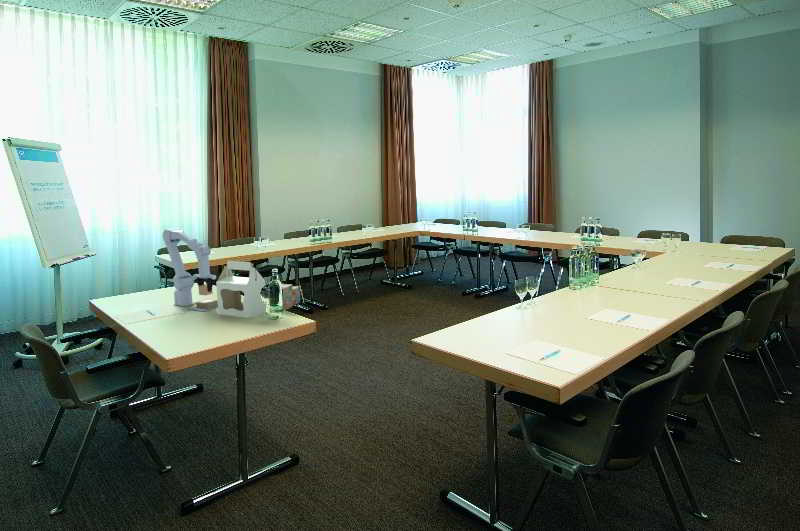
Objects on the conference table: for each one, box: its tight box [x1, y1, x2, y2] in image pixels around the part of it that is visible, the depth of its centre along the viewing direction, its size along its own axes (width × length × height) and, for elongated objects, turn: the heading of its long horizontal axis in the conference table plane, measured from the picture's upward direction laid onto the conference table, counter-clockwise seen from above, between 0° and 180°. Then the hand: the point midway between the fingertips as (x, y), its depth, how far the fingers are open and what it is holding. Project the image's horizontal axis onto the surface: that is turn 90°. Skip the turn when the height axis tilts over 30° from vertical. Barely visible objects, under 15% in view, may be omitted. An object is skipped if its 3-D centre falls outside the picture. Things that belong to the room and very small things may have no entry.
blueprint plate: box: [188, 298, 218, 313], centre depth 300 cm, size 12×16×4 cm
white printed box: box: [281, 283, 301, 311], centre depth 298 cm, size 21×6×12 cm, turn 166°
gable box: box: [216, 260, 267, 319], centre depth 283 cm, size 22×13×28 cm, turn 63°
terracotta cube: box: [197, 283, 213, 296], centre depth 298 cm, size 5×5×5 cm
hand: (205, 291), depth 299 cm, fingers closed on terracotta cube, 5 cm apart
